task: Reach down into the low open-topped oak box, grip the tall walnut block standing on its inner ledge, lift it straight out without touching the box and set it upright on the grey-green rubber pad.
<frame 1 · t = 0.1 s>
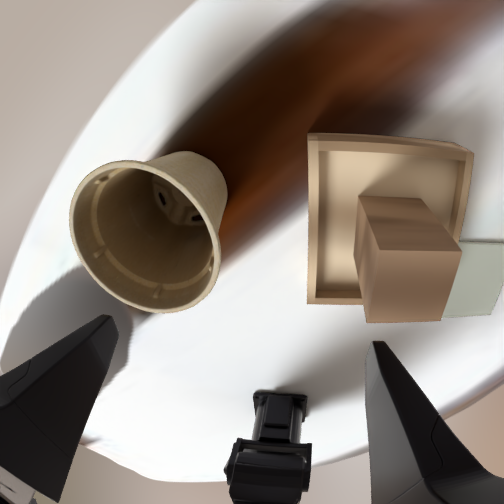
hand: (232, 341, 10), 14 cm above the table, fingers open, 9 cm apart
pad: (471, 280, 23), on the table
flower pot: (188, 189, 23), on the table
walnut block: (387, 227, 20), point 2 cm above the table, touching oak box
oak box: (381, 215, 22), on the table
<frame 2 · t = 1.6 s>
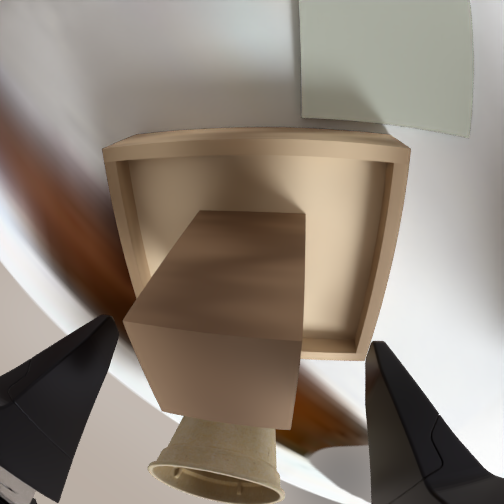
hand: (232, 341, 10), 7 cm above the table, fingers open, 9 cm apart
pad: (392, 38, 10), on the table
flower pot: (238, 393, 24), on the table
walnut block: (252, 257, 14), point 2 cm above the table, touching oak box
oak box: (258, 236, 16), on the table
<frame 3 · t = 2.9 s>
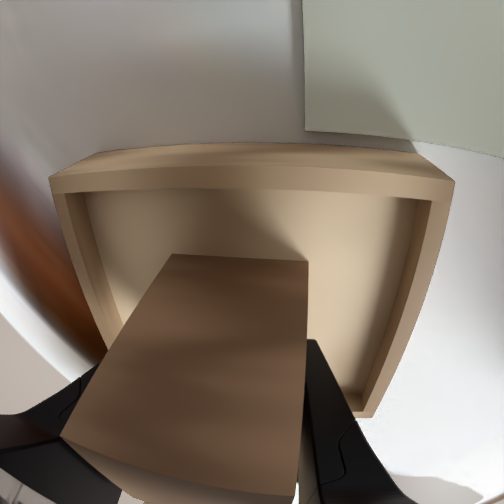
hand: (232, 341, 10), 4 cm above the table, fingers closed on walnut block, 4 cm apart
pad: (423, 28, 7), on the table
walnut block: (240, 310, 11), point 2 cm above the table, touching gripper, oak box
oak box: (249, 278, 13), on the table
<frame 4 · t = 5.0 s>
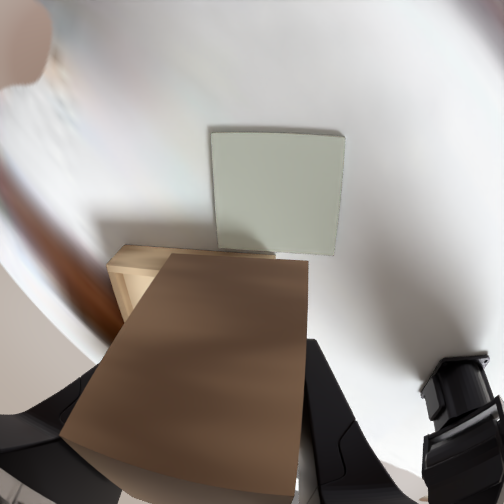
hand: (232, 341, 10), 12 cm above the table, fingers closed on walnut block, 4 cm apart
pad: (277, 194, 20), on the table
walnut block: (240, 310, 11), point 11 cm above the table, touching gripper
oak box: (201, 306, 26), on the table
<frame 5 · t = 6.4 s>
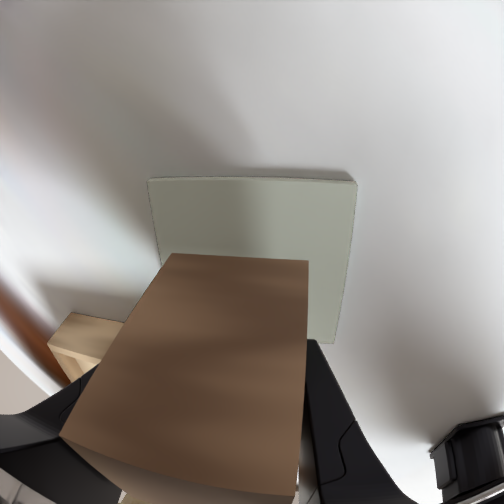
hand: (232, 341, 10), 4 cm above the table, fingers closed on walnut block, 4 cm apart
pad: (251, 267, 14), on the table
walnut block: (240, 310, 11), point 3 cm above the table, touching gripper
oak box: (169, 383, 19), on the table
when the fingers open (3 cm above the table, at t = 7.4 s): walnut block drops 1 cm, resting on pad.
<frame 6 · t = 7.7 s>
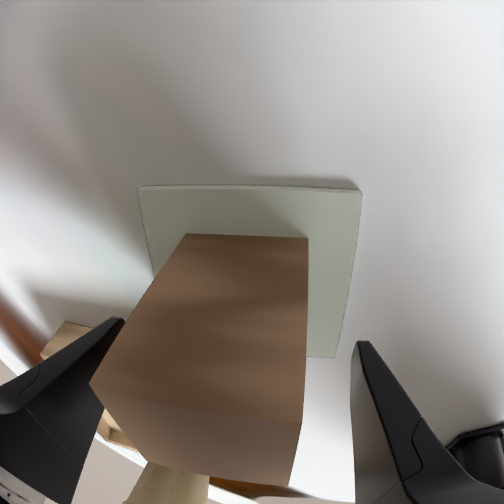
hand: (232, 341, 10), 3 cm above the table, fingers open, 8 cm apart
pad: (248, 280, 13), on the table
flower pot: (182, 460, 27), on the table
walnut block: (247, 286, 12), resting on pad
oak box: (165, 394, 19), on the table
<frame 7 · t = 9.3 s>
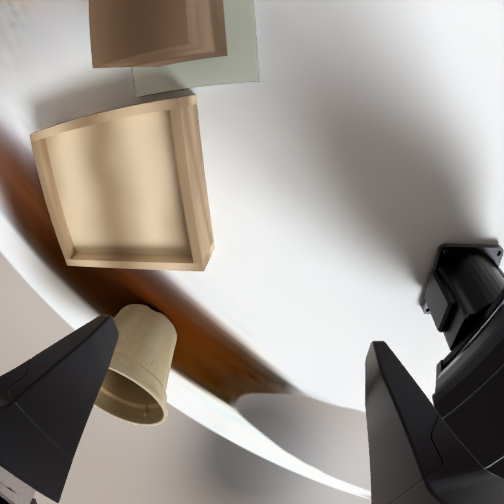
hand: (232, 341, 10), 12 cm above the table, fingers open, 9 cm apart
pad: (189, 28, 15), on the table
flower pot: (149, 325, 29), on the table
walnut block: (188, 27, 15), resting on pad
oak box: (127, 182, 21), on the table
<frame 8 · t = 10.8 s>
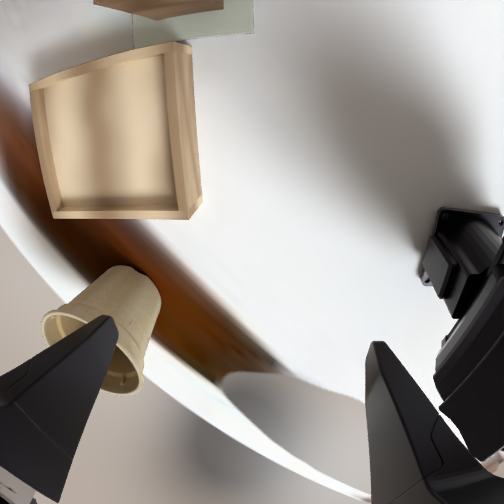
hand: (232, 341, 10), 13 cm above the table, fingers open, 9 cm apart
flower pot: (133, 291, 28), on the table
oak box: (119, 133, 20), on the table
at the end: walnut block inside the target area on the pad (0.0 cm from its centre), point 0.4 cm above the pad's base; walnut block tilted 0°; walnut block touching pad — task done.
